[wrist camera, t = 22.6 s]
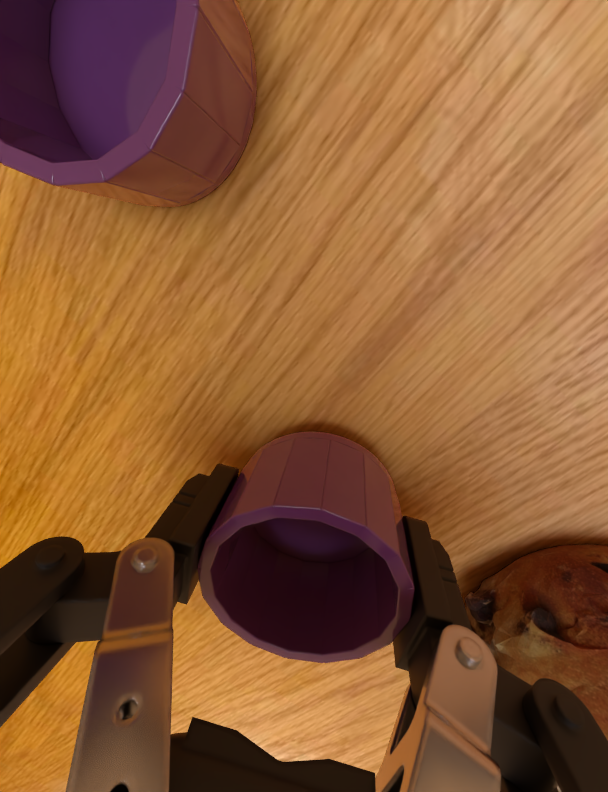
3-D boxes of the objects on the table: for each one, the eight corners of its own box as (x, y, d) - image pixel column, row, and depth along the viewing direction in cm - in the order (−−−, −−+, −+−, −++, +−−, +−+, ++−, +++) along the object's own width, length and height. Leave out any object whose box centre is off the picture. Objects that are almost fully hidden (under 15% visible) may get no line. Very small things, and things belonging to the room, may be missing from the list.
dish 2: (313, 397, 11) (294, 463, 8) (431, 507, 12) (462, 609, 9) (210, 493, 13) (158, 578, 10) (318, 580, 14) (306, 685, 11)
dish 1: (115, -146, 8) (-82, -476, 4) (302, 68, 9) (268, -56, 5) (19, 100, 10) (-165, 16, 6) (178, 250, 11) (94, 249, 7)
